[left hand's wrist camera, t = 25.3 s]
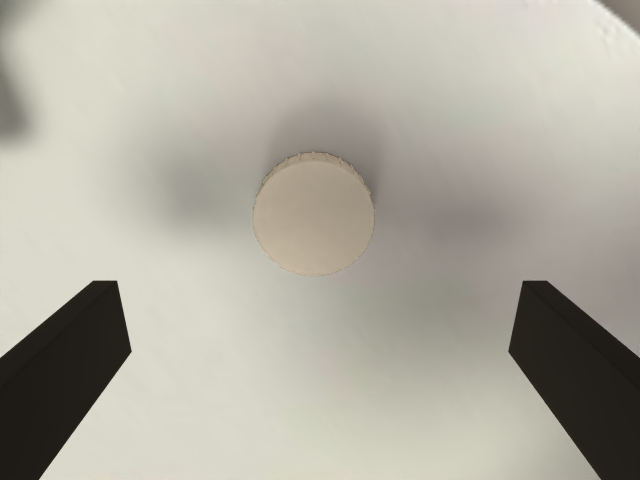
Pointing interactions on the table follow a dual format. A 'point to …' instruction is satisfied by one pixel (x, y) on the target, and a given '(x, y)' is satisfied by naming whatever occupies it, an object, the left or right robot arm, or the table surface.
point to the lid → (313, 214)
